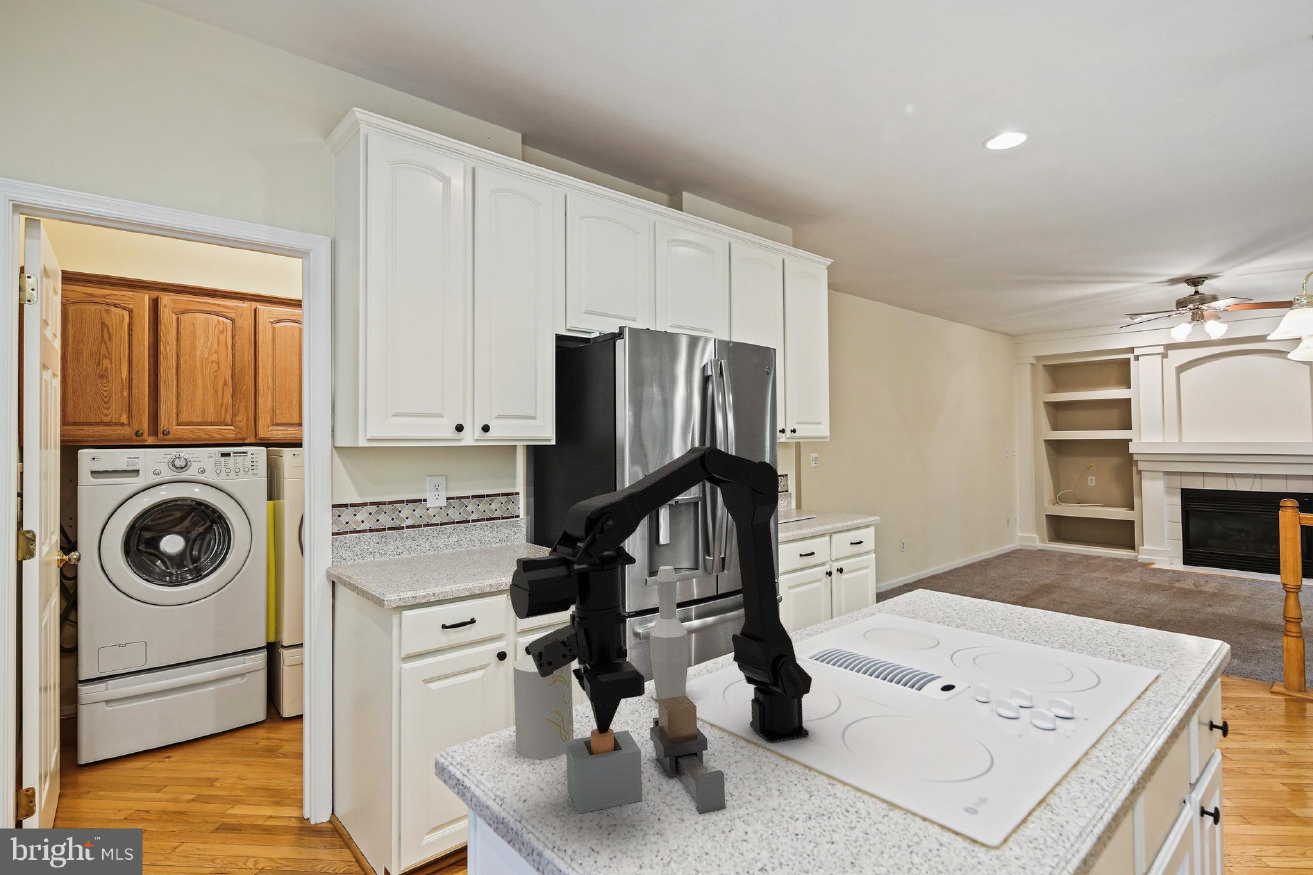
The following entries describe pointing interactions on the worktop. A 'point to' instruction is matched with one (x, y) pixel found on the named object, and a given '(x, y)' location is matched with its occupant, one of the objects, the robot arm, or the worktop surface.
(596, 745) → the button
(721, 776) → the rail
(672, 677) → the low poly bottle
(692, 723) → the carriage
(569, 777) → the grey hollow block
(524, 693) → the cup
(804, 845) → the worktop surface
